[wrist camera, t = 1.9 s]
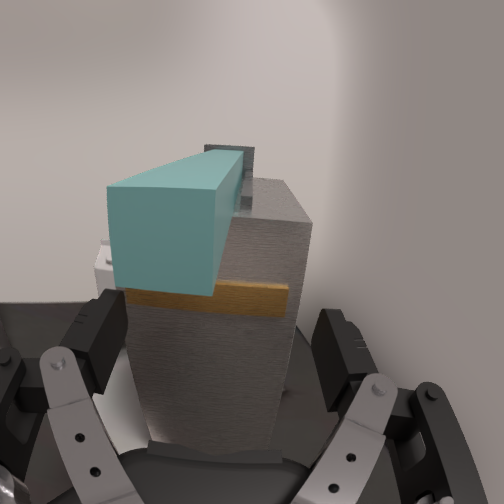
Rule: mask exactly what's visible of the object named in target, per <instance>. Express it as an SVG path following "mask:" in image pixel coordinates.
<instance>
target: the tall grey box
mask: <svg viewBox="0 0 504 504" xmlns="http://www.w3.org/2000/svg"><path fill="white" fill-rule="evenodd" d="M214 149H217V150H236V151H244V154H243V167H242V180H241V184H240V188H239V191H238V195H237V199H236V203H235V207H234V211H233V214H232V218H231V222H230V226H229V230H228V234H227V238H226V242H225V246H224V250H223V254H222V258H221V262H220V266H219V270H218V275H217V279H216V283H215V287H214V291H213V295H212V296H203V295H192V294H181V293H171V292H161V291H151V290H142V289H134V288H125V287H117V286H115V287H116V290H121V291H123V292H124V296H125V303H126V310H127V317H128V330H127V334H126V337H125V343H126V348H127V353H128V357H129V361H130V366H131V370H132V374H133V378H134V382H135V385H136V389H137V393H138V396H139V400H140V403H141V407H142V410H143V413H144V417H145V420H146V423H147V426H148V429H149V432H150V435H151V438H152V441H158V442H164V443H171V444H178V445H183V446H186V447H189V448H191V449H194V450H198V451H201V452H204V453H207V454H210V455H223V454H230V453H235V452H241V451H246V450H268V447H269V443H270V439H271V435H272V431H273V427H274V423H275V419H276V415H277V410H278V406H279V402H280V398H281V393H282V389H283V384H284V380H285V375H286V371H287V366H288V361H289V356H290V351H291V346H292V341H293V336H294V331H295V326H296V321H297V316H298V310H299V305H300V299H301V293H302V287H303V282H304V276H305V270H306V264H307V257H308V251H309V244H310V238H311V231H312V222H311V220H310V218H309V217H308V216H307V214H306V212H305V211H304V210H303V208H302V207H301V205H300V204H299V202H298V201H297V200H296V198H295V197H294V195H293V194H292V192H291V191H290V189H289V188H288V186H287V185H286V184H285V182H284V181H283V180H277V179H265V178H253V162H254V149H255V148H254V147H246V146H231V145H210V144H209V145H207V144H206V145H204V152H207V151H210V150H214Z"/></svg>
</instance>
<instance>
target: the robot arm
mask: <svg viewBox="0 0 504 504" xmlns="http://www.w3.org/2000/svg"><path fill="white" fill-rule="evenodd" d="M127 330H128V317H127V310H126V303H125V296H124V292H123V291H121V290H114V289H107V288H105V289H104V290H103V292H102V293H101V295H100V297H99V298H98V299H92V300H90V301H89V302H88V303H86V304H85V305H84V306H83V307H82V309H81V310H80V312H79V313H78V316H77V317H76V318H75V320H74V322H73V323H72V325H71V326H70V328H69V329H68V331H67V333H66V334H65V336H64V338H63V339H62V341H61V343H60V345H59V346H58V347H53V348H50V349H48V350H47V351H46V352H44V353H43V355H42V356H41V358H22V357H21V355H20V353H19V351H18V350H16V349H15V348H12V347H11V345H10V343H9V340H8V338H7V335H6V333H5V330H4V328H3V325H2V322H1V320H0V504H31V500H30V495H29V491H28V489H27V487H26V485H25V484H24V480H25V476H26V472H27V468H28V464H29V461H30V457H31V454H32V450H33V447H34V444H35V441H36V438H37V434H38V431H39V428H40V425H41V423H42V420H43V417H44V414H45V413H48V417H49V421H50V424H51V427H52V431H53V434H54V437H55V440H56V443H57V446H58V448H59V451H60V454H61V456H62V459H63V462H64V464H65V467H66V469H67V472H68V474H69V476H70V479H71V481H72V483H73V485H74V486H73V487H72V488H70V489H69V490H67V491H66V492H64V493H63V494H61V495H60V496H58V497H56V498H55V499H53V500H52V501H50V502H48V503H47V504H355V503H356V501H357V500H358V498H359V496H360V494H361V492H362V490H363V488H364V486H365V484H366V482H367V480H368V478H369V476H370V474H371V472H372V469H373V467H374V465H375V463H376V461H377V458H378V456H379V454H380V451H381V449H382V447H383V444H384V441H385V439H386V442H387V446H388V450H389V453H390V457H391V461H392V465H393V469H394V473H395V477H396V481H397V486H398V490H399V495H400V499H401V504H488V502H487V498H486V495H485V492H484V489H483V486H482V483H481V480H480V477H479V474H478V471H477V468H476V465H475V463H474V460H473V458H472V455H471V452H470V450H469V447H468V445H467V443H466V440H465V437H464V435H463V432H462V430H461V428H460V425H459V423H458V421H457V418H456V416H455V414H454V412H453V410H452V407H451V405H450V403H449V401H448V399H447V397H446V395H445V393H444V391H443V390H442V388H441V387H439V386H438V385H436V384H434V383H432V382H423V383H421V384H420V385H419V386H418V387H417V388H416V390H415V391H414V390H407V389H402V388H397V386H396V384H395V383H394V382H393V380H391V379H390V378H389V377H387V376H385V375H383V374H379V373H378V370H377V368H376V366H375V363H374V361H373V359H372V357H371V354H370V352H369V350H368V348H366V343H365V341H364V340H363V337H362V335H361V333H360V331H359V329H358V328H357V327H356V326H355V325H354V324H353V323H352V322H348V321H346V320H345V318H344V315H343V313H342V311H341V310H340V309H322V310H321V312H320V314H319V318H318V321H317V324H316V327H315V330H314V333H313V336H312V341H311V349H312V353H313V357H314V361H315V365H316V369H317V372H318V376H319V380H320V384H321V388H322V392H323V396H324V400H325V404H326V408H327V412H338V416H339V420H338V422H337V424H336V425H335V427H334V429H333V430H332V432H331V434H330V435H329V437H328V439H327V440H326V442H325V444H324V445H323V447H322V448H321V450H320V451H319V453H318V454H317V456H316V457H315V459H314V460H313V462H312V463H311V464H310V466H309V467H306V466H304V465H302V464H301V463H298V462H296V461H293V460H290V459H286V458H282V451H281V450H246V451H241V452H235V453H230V454H223V455H210V454H207V453H204V452H201V451H198V450H194V449H191V448H189V447H186V446H183V445H178V444H171V443H164V442H158V441H152V440H149V443H148V448H140V449H134V450H130V451H127V452H125V453H122V454H120V455H119V453H118V451H117V449H116V448H115V446H114V444H113V442H112V440H111V438H110V436H109V434H108V432H107V430H106V428H105V426H104V424H103V422H102V419H101V417H100V415H99V413H98V411H97V408H96V406H95V404H94V401H93V399H92V396H93V394H94V393H98V394H102V395H103V394H104V391H105V389H106V386H107V383H108V380H109V378H110V375H111V372H112V370H113V367H114V365H115V362H116V359H117V357H118V354H119V352H120V349H121V347H122V344H123V342H124V339H125V337H126V334H127ZM11 403H12V404H11ZM10 405H11V406H10ZM9 407H10V408H9ZM8 410H9V411H8ZM7 412H8V413H7ZM6 415H7V416H6ZM419 432H421V435H422V438H423V441H424V443H425V447H426V451H425V448H424V445H423V442H422V439H421V436H420V433H419Z"/></svg>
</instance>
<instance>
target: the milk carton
mask: <svg viewBox="0 0 504 504" xmlns="http://www.w3.org/2000/svg"><path fill="white" fill-rule="evenodd" d="M94 269H95V277H96V283H97V289H98V294H99V297H100V295H101V293H102V292H103V290H104V289H105V288H107V289H114V290H116V287H115V281H114V274H113V266H112V257H111V248H110V240H104V239H101V248H100V251H99V253H98V257H97V259H96V262H95V265H94Z"/></svg>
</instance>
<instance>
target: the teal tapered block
mask: <svg viewBox="0 0 504 504" xmlns="http://www.w3.org/2000/svg"><path fill="white" fill-rule="evenodd" d="M243 154H244V151H236V150H217V149H214V150H210V151H207V152H204V153H200V154H197V155H194V156H190V157H187V158H184V159H181V160H178V161H175V162H172V163H169V164H166V165H163V166H160V167H157V168H155V169H151V170H149V171H146V172H143V173H140V174H138V175H135V176H132V177H130V178H127V179H125V180H122V181H119V182H117V183H114V184H112V185H109V186H107V207H108V224H109V236H110V248H111V257H112V266H113V274H114V281H115V286H117V287H125V288H134V289H142V290H151V291H161V292H171V293H181V294H192V295H203V296H212V295H213V291H214V287H215V283H216V279H217V275H218V270H219V266H220V262H221V258H222V254H223V250H224V246H225V242H226V238H227V234H228V230H229V226H230V222H231V218H232V214H233V211H234V207H235V203H236V199H237V195H238V191H239V188H240V184H241V180H242V167H243Z"/></svg>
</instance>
